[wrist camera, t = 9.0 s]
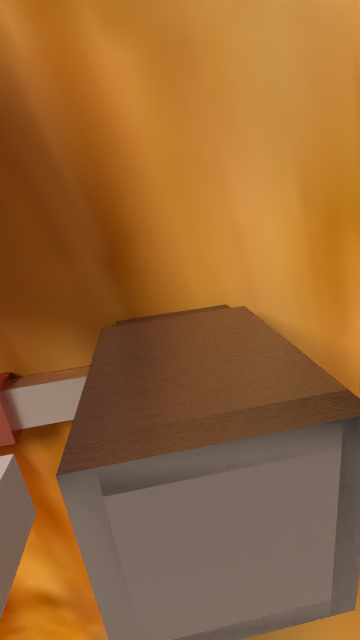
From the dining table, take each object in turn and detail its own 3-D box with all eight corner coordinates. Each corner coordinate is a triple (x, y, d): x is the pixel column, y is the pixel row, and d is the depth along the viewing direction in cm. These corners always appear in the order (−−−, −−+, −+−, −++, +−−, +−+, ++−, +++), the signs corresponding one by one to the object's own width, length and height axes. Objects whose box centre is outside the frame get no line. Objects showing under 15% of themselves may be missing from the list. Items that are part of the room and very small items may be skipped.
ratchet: (-126, 358, 15) (-303, 453, 9) (226, 304, 17) (277, 353, 11) (-72, 468, 17) (-184, 603, 11) (233, 411, 19) (279, 502, 13)
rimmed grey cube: (101, 328, 15) (55, 475, 6) (244, 305, 15) (376, 412, 7) (127, 446, 17) (119, 670, 9) (250, 422, 18) (355, 610, 9)
